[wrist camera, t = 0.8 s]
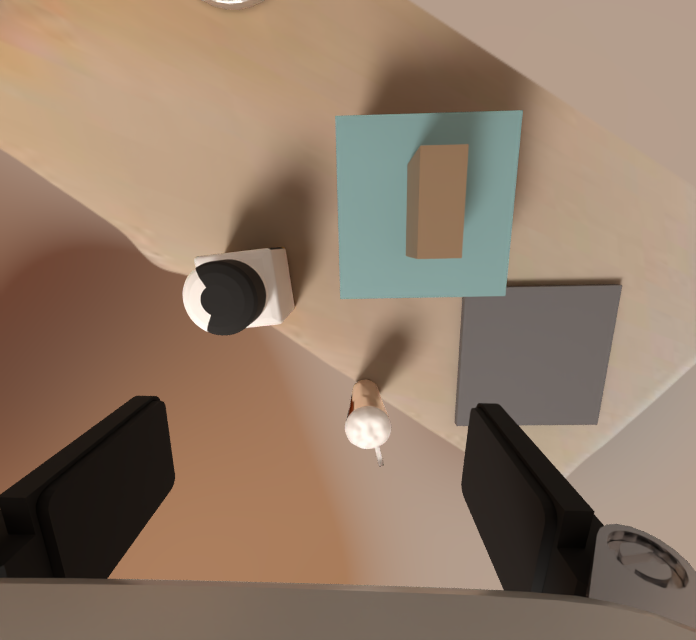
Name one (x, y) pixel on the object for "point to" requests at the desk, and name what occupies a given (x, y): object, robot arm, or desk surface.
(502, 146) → the lid
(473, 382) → the desk mat
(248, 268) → the medicine bottle
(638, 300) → the desk surface
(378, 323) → the desk surface
